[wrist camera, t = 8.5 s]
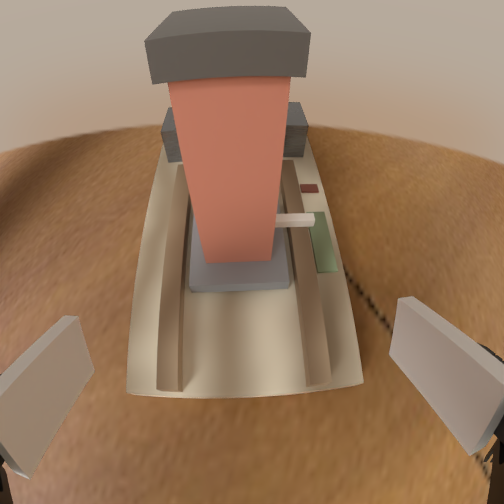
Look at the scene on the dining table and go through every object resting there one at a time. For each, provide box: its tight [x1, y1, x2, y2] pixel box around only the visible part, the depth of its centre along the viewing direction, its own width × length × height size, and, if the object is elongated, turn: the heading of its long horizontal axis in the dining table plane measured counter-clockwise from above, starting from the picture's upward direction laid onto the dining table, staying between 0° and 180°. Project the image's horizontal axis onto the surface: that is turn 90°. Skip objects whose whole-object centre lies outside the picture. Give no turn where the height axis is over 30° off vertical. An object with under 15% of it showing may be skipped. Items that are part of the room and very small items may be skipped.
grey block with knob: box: [161, 102, 308, 163], centre depth 24 cm, size 12×4×5 cm, turn 93°
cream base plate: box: [126, 137, 364, 398], centre depth 21 cm, size 14×23×3 cm, turn 3°
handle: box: [144, 6, 315, 293], centre depth 14 cm, size 8×7×15 cm
